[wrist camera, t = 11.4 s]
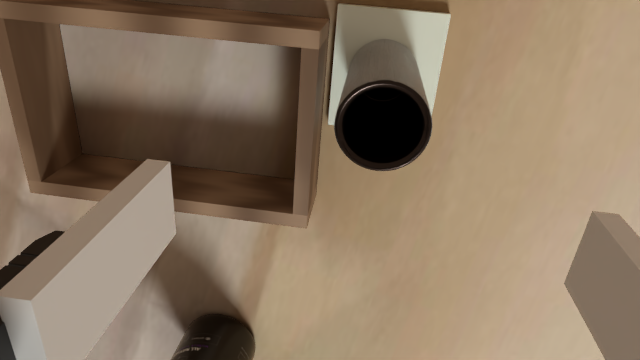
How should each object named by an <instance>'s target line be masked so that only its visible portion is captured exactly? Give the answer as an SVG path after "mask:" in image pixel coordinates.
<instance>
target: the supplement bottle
mask: <svg viewBox="0 0 640 360" xmlns="http://www.w3.org/2000/svg"><path fill="white" fill-rule="evenodd" d="M254 353H255V342H254V339H253V336H252V335H251V333H250V331H249V330H248V329H247V328H246V327H245V326H244V325H243V324H242V323H240V322H239V321H237V320H235V319H233V318H231V317H228V316H224V315H218V314H210V315H205V316H202V317H200V318H197V319H196V320H194V321H193V322H192V323H191V324H190V326H189V327H188V329H187V330H186V332H185V334H184V336H183V338H182V340H181V341H180V343H179V345H178V347H177V349H176V351H175V353H174V355H173V356H172V358H171V360H253V357H254Z"/></svg>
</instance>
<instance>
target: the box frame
mask: <svg viewBox="0 0 640 360" xmlns="http://www.w3.org/2000/svg"><path fill="white" fill-rule="evenodd" d="M329 23H330V19H326V18H316V17H305V16H294V15H283V14H273V13H262V12H251V11H240V10H230V9H219V8H208V7H197V6H187V5H176V4H165V3H154V2H144V1H133V0H0V69H1V73H2V77H3V81H4V85H5V89H6V94H7V98H8V102H9V106H10V110H11V114H12V118H13V122H14V126H15V130H16V135H17V139H18V143H19V147H20V151H21V155H22V159H23V163H24V167H25V171H26V176H27V180H28V184H29V188H30V192H31V193H38V194H45V195H53V196H61V197H68V198H76V199H84V200H91V201H101V200H102V199H103V198H104V197H105V196H106V195H107V194H108V193H110V192H111V191H112V190H113V189H114V188H115V187H116V186H117V185H119V184H120V183H121V182H122V181H123V180H124V179H125V178H126V177H128V176H129V175H130V174H131V173H132V172H133V171H134V170H135V169H137V168H138V167H139V166H140V165H141V164H142V163H143V162H144V161H137V160H128V159H120V158H112V157H104V156H96V155H87V154H82V150H81V144H80V139H79V133H78V127H77V122H76V116H75V111H74V105H73V99H72V94H71V88H70V82H69V77H68V71H67V66H66V60H65V54H64V49H63V43H62V38H61V32H60V26H59V24H66V25H76V26H86V27H96V28H106V29H116V30H126V31H137V32H147V33H157V34H167V35H177V36H187V37H198V38H208V39H218V40H228V41H238V42H248V43H259V44H269V45H279V46H289V47H299V48H301V65H300V84H299V104H298V123H297V142H296V162H295V180H293V179H285V178H276V177H268V176H260V175H252V174H244V173H235V172H227V171H219V170H211V169H202V168H194V167H186V166H178V165H170V166H171V178H172V189H173V201H174V211H176V212H184V213H192V214H199V215H207V216H215V217H222V218H230V219H238V220H245V221H253V222H261V223H269V224H276V225H284V226H292V227H299V228H307V225H308V222H309V218H310V215H311V211H312V207H313V204H314V200H315V197H316V192H317V179H318V166H319V153H320V140H321V127H322V114H323V101H324V88H325V75H326V62H327V49H328V36H329Z"/></svg>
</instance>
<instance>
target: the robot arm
mask: <svg viewBox="0 0 640 360" xmlns="http://www.w3.org/2000/svg"><path fill="white" fill-rule="evenodd" d="M175 234H176V224H175V213H174V201H173V189H172V178H171V166H170V162H169V161H161V160H152V159H147V160H146V161H144V162H143V163H142V164H141V165H140V166H139V167H138V168H137V169H135V170H134V171H133V172H132V173H131V174H130V175H129V176H128V177H126V178H125V179H124V180H123V181H122V182H121V183H120V184H119V185H117V186H116V187H115V188H114V189H113V190H112V191H111V192H110V193H108V194H107V195H106V196H105V197H104V198H103V199H102V200H101V201H99V202H98V203H97V204H96V205H95V206H94V207H93V208H92V209H90V210H89V211H88V212H87V213H86V214H85V215H84V216H83V217H81V218H80V219H79V220H78V221H77V222H76V223H75V224H74V225H72V226H71V227H70V228H69V229H68V230H67V231H66V232H63V231H54V232H52V233H50V234H48V235H45V236H43V237H41V238H39V239H37V240H35V241H34V242H33V243H32V244H31V245H29V246H28V247H27V248H26V249H25V250H23V251H22V252H21V255H17V256H16V257H15V258H14V259H13V260H11V261H10V262H9V265H8V266H4V267H3V268H2V269H1V270H0V360H84V359H85V358H86V357H87V355H88V354H89V353H90V351H91V350H92V348H93V347H94V346H95V344H96V343H97V342H98V340H99V339H100V337H101V336H102V335H103V333H104V332H105V331H106V329H107V328H108V326H109V325H110V324H111V322H112V321H113V320H114V318H115V317H116V315H117V314H118V313H119V311H120V310H121V309H122V307H123V306H124V304H125V303H126V302H127V300H128V299H129V298H130V296H131V295H132V293H133V292H134V291H135V289H136V288H137V287H138V285H139V284H140V282H141V281H142V280H143V278H144V277H145V276H146V274H147V273H148V271H149V270H150V269H151V267H152V266H153V265H154V263H155V262H156V260H157V259H158V258H159V256H160V255H161V254H162V252H163V251H164V249H165V248H166V247H167V245H168V244H169V243H170V241H171V240H172V238H173V237H174V236H175ZM564 284H565V286H566V288H567V290H568V292H569V293H570V295H571V297H572V299H573V301H574V303H575V304H576V306H577V308H578V310H579V312H580V314H581V316H582V317H583V319H584V321H585V323H586V325H587V327H588V328H589V330H590V332H591V334H592V336H593V338H594V340H595V341H596V343H597V345H598V347H599V349H600V351H601V353H602V354H603V356H604V358H605V360H640V237H639V236H638V235H637V234H636V233H635V232H634V231H633V229H632V228H631V227H630V226H629V225H628V224H627V223H626V222H625V220H624V219H623V218H622V217H621V216H620V215H619V214H613V213H604V212H595V211H592V214H591V216H590V219H589V221H588V224H587V226H586V229H585V232H584V234H583V237H582V239H581V242H580V244H579V247H578V249H577V252H576V255H575V257H574V260H573V262H572V265H571V267H570V270H569V272H568V275H567V278H566V280H565V283H564Z"/></svg>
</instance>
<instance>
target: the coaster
mask: <svg viewBox="0 0 640 360" xmlns="http://www.w3.org/2000/svg"><path fill="white" fill-rule="evenodd" d="M450 17H451V14H450V13H443V12H432V11H420V10H409V9H398V8H387V7H376V6H365V5H354V4H343V3H339V4H338V10H337V22H336V34H335V46H334V58H333V70H332V82H331V94H330V106H329V118H328V124H329V125H334V122H335V116H336V112H337V108H338V105H339V101H340V98H341V94H342V91H343V87H344V84H345V80H346V77H347V73H348V70H349V66H350V63H351V61H352V59H353V57H354V56H355V54H356V53H357V51H358V50H359V49H360V48H361V47H363V46H364V45H365V44H367V43H369V42H371V41H374V40H378V39H390V40H394V41H397V42H400V43H401V44H403V45H404V46H406V47H407V48H408V49H409V50H410V51H411V53H412V54H413V56H414V57H415V59H416V62H417V65H418V68H419V72H420V76H421V79H422V83H423V86H424V90H425V94H426V97H427V101H428V104H429V108H430V112H431V116H432V112H433V106H434V101H435V96H436V91H437V85H438V80H439V75H440V69H441V64H442V59H443V54H444V48H445V43H446V38H447V33H448V27H449V22H450Z"/></svg>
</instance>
